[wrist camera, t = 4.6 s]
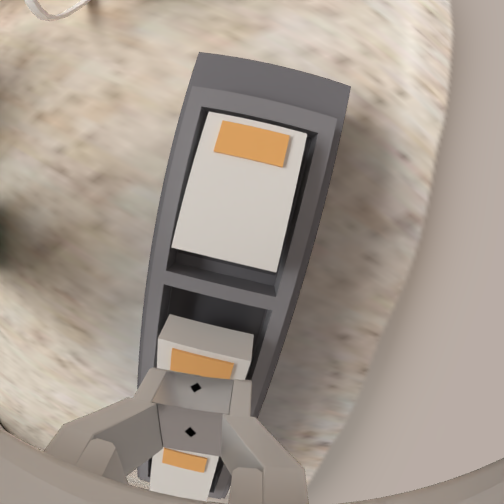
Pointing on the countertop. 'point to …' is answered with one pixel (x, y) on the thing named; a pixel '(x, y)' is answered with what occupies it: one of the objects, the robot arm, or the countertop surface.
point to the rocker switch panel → (225, 272)
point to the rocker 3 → (182, 473)
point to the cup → (43, 15)
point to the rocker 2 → (204, 349)
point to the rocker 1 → (240, 191)
